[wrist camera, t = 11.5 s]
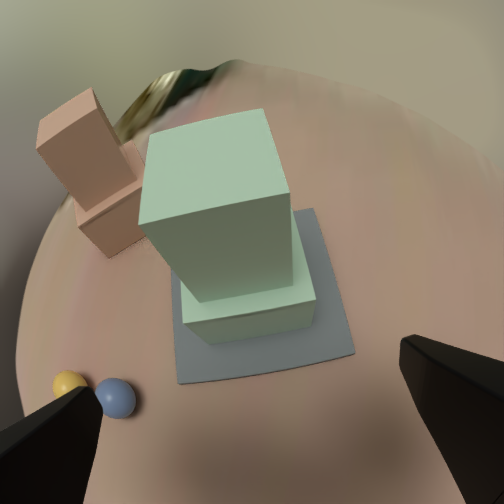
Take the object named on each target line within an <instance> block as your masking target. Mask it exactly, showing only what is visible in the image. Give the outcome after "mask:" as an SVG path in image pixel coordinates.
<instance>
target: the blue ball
mask: <svg viewBox="0 0 504 504" xmlns="http://www.w3.org/2000/svg"><path fill="white" fill-rule="evenodd" d="M95 394H96V396H97V398H98V400H99V401H100V403H101V405H102V407H103V414H105V415H106V416H108V417H110V418H114V419H121V418H125V417H127V416H129V415H130V414H131V413H132V412H133V410H134V408H135V405H136V397H135V393H134V391H133V389H132V388H131V386H130V385H129V384H128V383H126V382H125V381H123V380H121V379H118V378H108V379H105V380H103V381H102V382H101V383H100V384H99V385H98V386H97V388H96V391H95Z"/></svg>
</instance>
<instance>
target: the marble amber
mask: <svg viewBox="0 0 504 504" xmlns="http://www.w3.org/2000/svg"><path fill="white" fill-rule="evenodd" d="M78 386H88V385H87V383H86V381H85V380H84V378H83V377H82V376H81V375H80V374H78V373H76V372H74V371H70V370H66V371H62V372H60V373H59V374H57V375H56V377H55V378H54V381H53V392H54V395H55V397H56V399H57V398H59V397H61V396H62V395H64V394H66V393H68V392H69V391H71V390H73V389H74V388H76V387H78Z"/></svg>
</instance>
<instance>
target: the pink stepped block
mask: <svg viewBox="0 0 504 504" xmlns="http://www.w3.org/2000/svg"><path fill="white" fill-rule="evenodd" d="M36 150H37V152H38V153H39V154H40V156H41V157H42V158H43V160H44V161H45V162H46V164H47V165H48V166H49V167H50V169H51V170H52V171H53V173H54V174H55V175H56V176H57V178H58V179H59V180H60V182H61V183H62V184H63V185H64V187H65V188H66V189H67V190H68V191H69V193H70V194H71V195H72V196H73V200H74V207H75V214H76V220H77V225H78V228H79V229H80V230H81V231H82V232H83V233H84V234H85V235H86V236H87V237H88V238H89V239H90V240H91V241H92V242H93V243H94V244H95V245H96V246H97V247H98V248H99V249H100V250H101V251H102V252H103V253H104V254H105V255H106V256H107V257H108V258H110V257H112V256H114V255H115V254H117V253H118V252H120V251H122V250H123V249H125V248H126V247H128V246H130V245H131V244H133V243H135V242H136V241H138V240H140V239H141V238H143V237H145V236H146V235H145V233H144V232H143V231H142V229H141V228H140V227H139V225H138V222H139V212H140V202H141V194H142V185H143V178H144V170H145V163H144V162H143V160H142V158H141V156H140V154H139V152H138V150H137V148H136V146H135V144H134V142H133V141H132V140H131V141H129V142H128V143H126V144H124V145H122V144H121V142H120V140H119V138H118V137H117V135H116V133H115V131H114V129H113V127H112V126H111V124H110V122H109V120H108V118H107V116H106V114H105V112H104V110H103V108H102V107H101V105H100V103H99V101H98V99H97V97H96V95H95V93H94V91H93V89H92V87H91V88H89V89H87V90H86V91H84V92H82V93H81V94H79V95H77V96H76V97H74V98H73V99H71V100H70V101H68V102H66V103H65V104H63V105H62V106H61V107H59V108H57V109H56V110H55V111H53V112H52V113H50V114H49V115H47V116H46V117H45V118H43V119H42V120H40V123H39V129H38V136H37V143H36Z"/></svg>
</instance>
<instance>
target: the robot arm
mask: <svg viewBox="0 0 504 504" xmlns="http://www.w3.org/2000/svg"><path fill="white" fill-rule="evenodd" d="M399 366H400V370H401V372H402V375H403V377H404V379H405V381H406V384H407V386H408V388H409V391H410V393H411V396H412V398H413V400H414V403H415V405H416V407H417V410H418V412H419V414H420V416H421V418H422V419H423V421H424V423H425V425H426V426H427V428H428V430H429V432H430V434H431V436H432V437H433V439H434V441H435V443H436V445H437V447H438V449H439V450H440V452H441V454H442V456H443V458H444V460H445V462H446V464H447V466H448V468H449V470H450V472H451V474H452V476H453V478H454V480H455V482H456V484H457V486H458V488H459V490H460V492H461V494H462V496H463V498H464V500H465V502H466V504H504V362H503V361H500V360H496V359H493V358H490V357H486V356H483V355H480V354H476V353H473V352H470V351H467V350H463V349H460V348H457V347H454V346H451V345H447V344H444V343H441V342H438V341H435V340H432V339H429V338H426V337H422V336H419V335H416V334H413V335H410V336H407V337H404V338H402V340H401V343H400V357H399ZM102 417H103V407H102V405H101V403H100V401H99V400H98V398H97V396H96V394H95V393H94V391H93V389H92V388H91V387H89V386H78V387H76V388H74V389H73V390H71V391H69V392H68V393H66V394H64V395H62V396H61V397H59V398H57V399H56V400H54V401H52V402H51V403H49V404H47V405H46V406H44V407H42V408H40V409H39V410H37V411H35V412H34V413H32V414H30V415H28V416H27V417H25V418H23V419H21V420H20V421H18V422H16V423H14V424H13V425H11V426H9V427H7V428H6V429H4V430H3V431H0V504H83V502H84V497H85V493H86V489H87V485H88V481H89V477H90V473H91V469H92V465H93V462H94V458H95V454H96V449H97V444H98V438H99V433H100V427H101V422H102Z"/></svg>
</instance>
